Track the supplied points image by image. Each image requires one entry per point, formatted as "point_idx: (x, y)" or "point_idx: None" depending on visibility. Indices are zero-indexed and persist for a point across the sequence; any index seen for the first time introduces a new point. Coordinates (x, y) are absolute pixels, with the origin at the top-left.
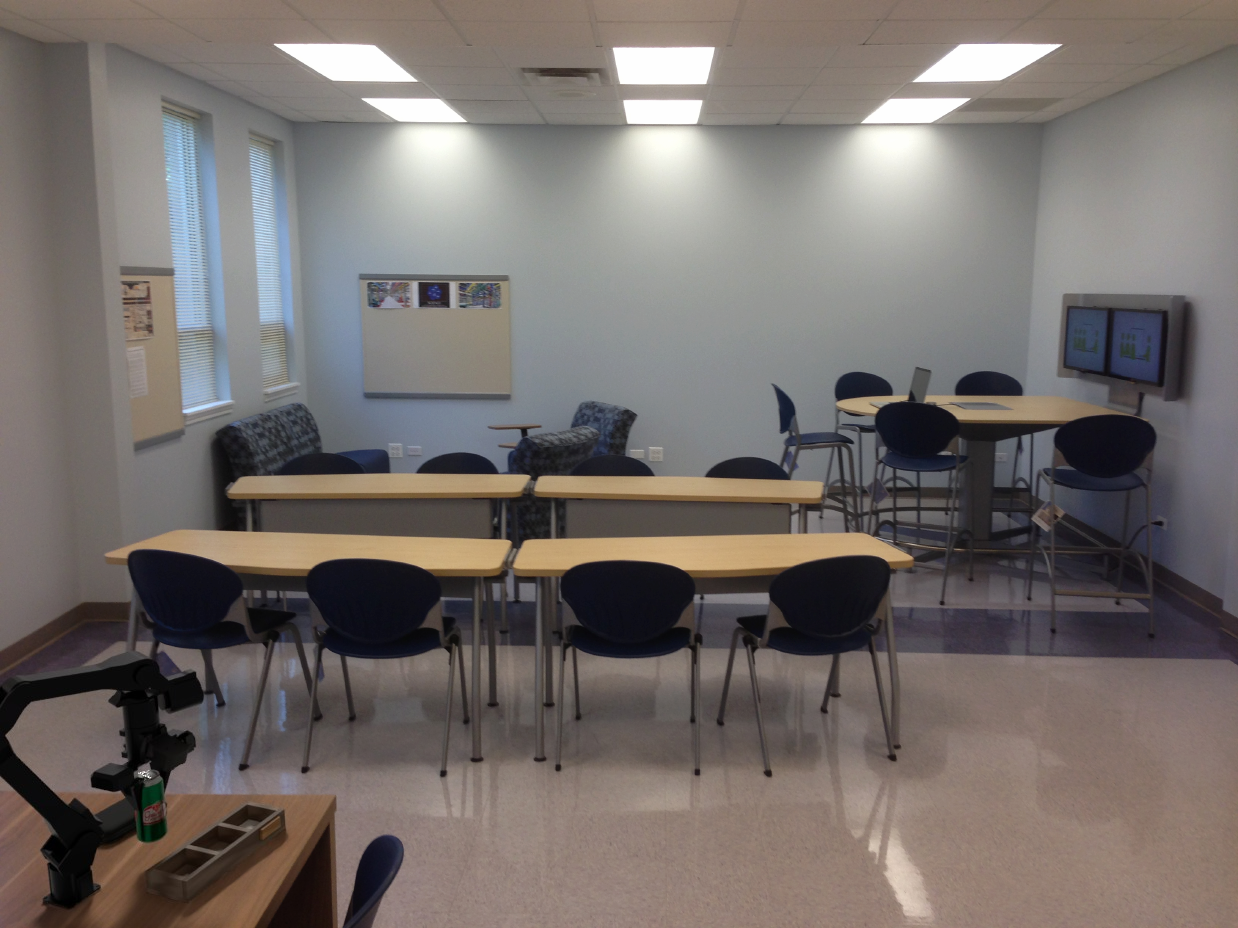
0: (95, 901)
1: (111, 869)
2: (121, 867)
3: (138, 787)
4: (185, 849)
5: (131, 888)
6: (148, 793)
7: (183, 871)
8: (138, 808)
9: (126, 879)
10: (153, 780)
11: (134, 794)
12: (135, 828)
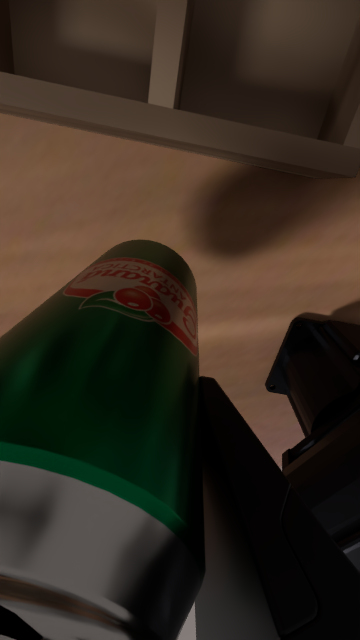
0: (349, 297)
1: (213, 341)
2: (203, 324)
3: (315, 629)
4: (173, 108)
5: (294, 241)
6: (172, 422)
7: (222, 101)
8: (221, 388)
9: (252, 281)
10: (22, 568)
11: (327, 535)
12: None
